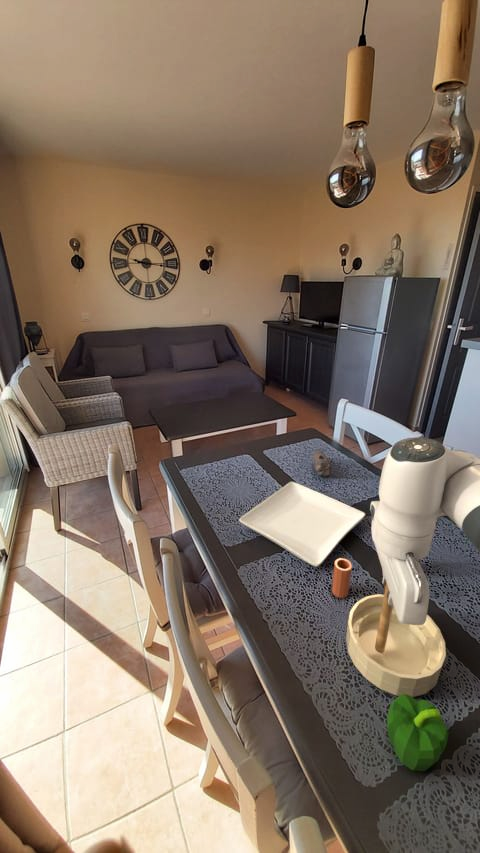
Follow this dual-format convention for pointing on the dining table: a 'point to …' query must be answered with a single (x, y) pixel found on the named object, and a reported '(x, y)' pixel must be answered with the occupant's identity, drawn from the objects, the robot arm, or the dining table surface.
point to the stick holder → (341, 577)
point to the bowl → (395, 650)
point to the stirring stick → (383, 624)
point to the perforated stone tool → (321, 464)
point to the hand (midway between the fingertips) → (390, 594)
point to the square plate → (303, 521)
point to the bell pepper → (416, 732)
